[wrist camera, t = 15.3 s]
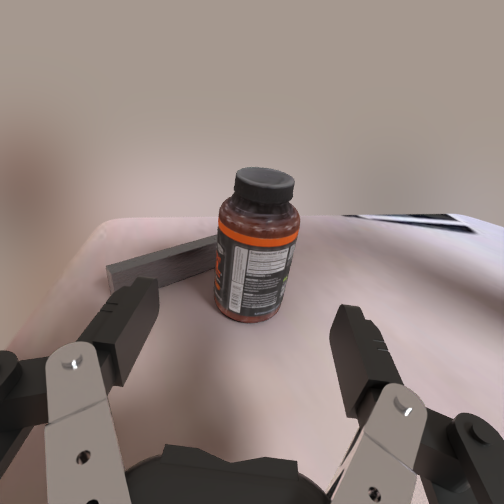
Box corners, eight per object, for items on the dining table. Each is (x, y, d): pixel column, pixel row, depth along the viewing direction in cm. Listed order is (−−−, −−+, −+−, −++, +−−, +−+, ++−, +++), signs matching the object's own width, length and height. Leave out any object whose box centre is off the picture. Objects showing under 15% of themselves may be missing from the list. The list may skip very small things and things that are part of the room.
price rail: (274, 236, 35) (279, 215, 34) (283, 242, 34) (288, 220, 33) (109, 293, 23) (104, 264, 21) (116, 304, 22) (111, 274, 21)
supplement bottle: (214, 278, 27) (222, 158, 21) (275, 282, 27) (299, 166, 21) (211, 325, 21) (220, 184, 16) (285, 328, 22) (321, 194, 16)
